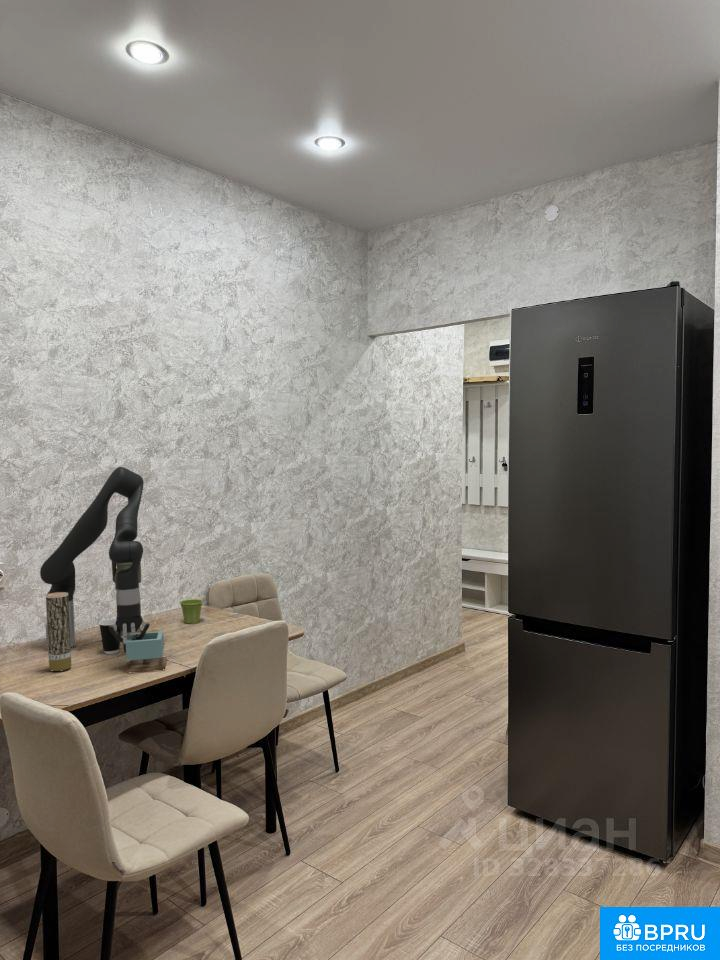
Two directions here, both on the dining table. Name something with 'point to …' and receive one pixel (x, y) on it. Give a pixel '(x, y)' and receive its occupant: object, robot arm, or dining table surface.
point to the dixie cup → (109, 637)
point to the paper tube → (58, 631)
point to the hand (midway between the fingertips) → (130, 653)
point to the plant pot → (191, 610)
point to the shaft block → (146, 665)
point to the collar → (145, 646)
